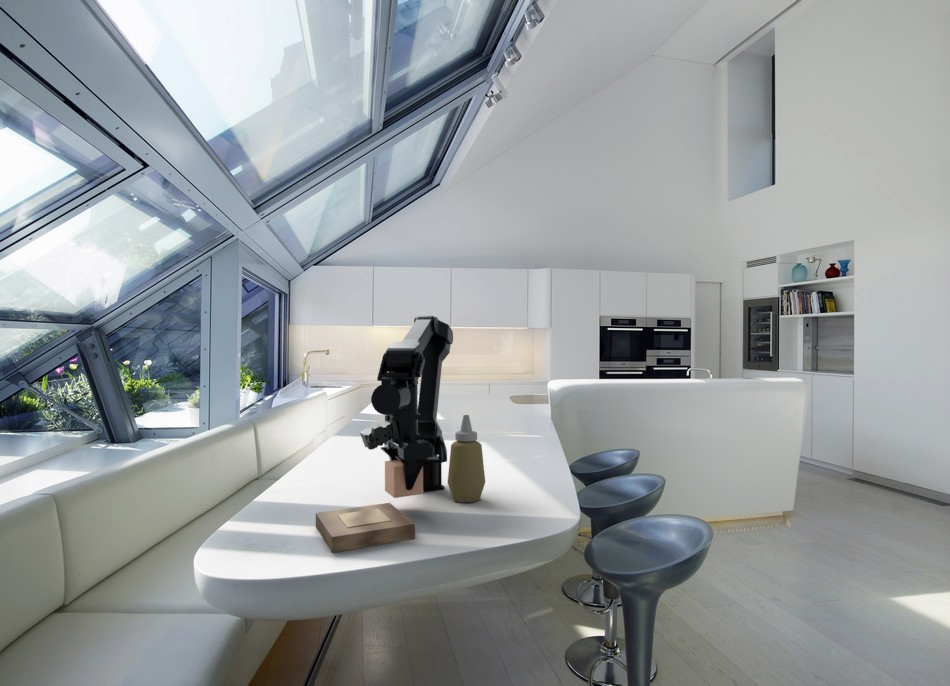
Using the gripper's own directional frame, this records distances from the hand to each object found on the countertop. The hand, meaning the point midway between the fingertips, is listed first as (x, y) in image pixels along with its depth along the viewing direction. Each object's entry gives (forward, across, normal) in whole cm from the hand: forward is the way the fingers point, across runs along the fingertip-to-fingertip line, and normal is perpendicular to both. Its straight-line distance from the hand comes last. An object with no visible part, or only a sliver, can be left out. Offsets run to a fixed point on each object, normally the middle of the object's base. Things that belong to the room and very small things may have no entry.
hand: (403, 486), depth 110 cm
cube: (+1, 0, 0) cm, 1 cm away
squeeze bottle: (+5, 0, +14) cm, 15 cm away
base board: (+5, +10, -11) cm, 15 cm away
